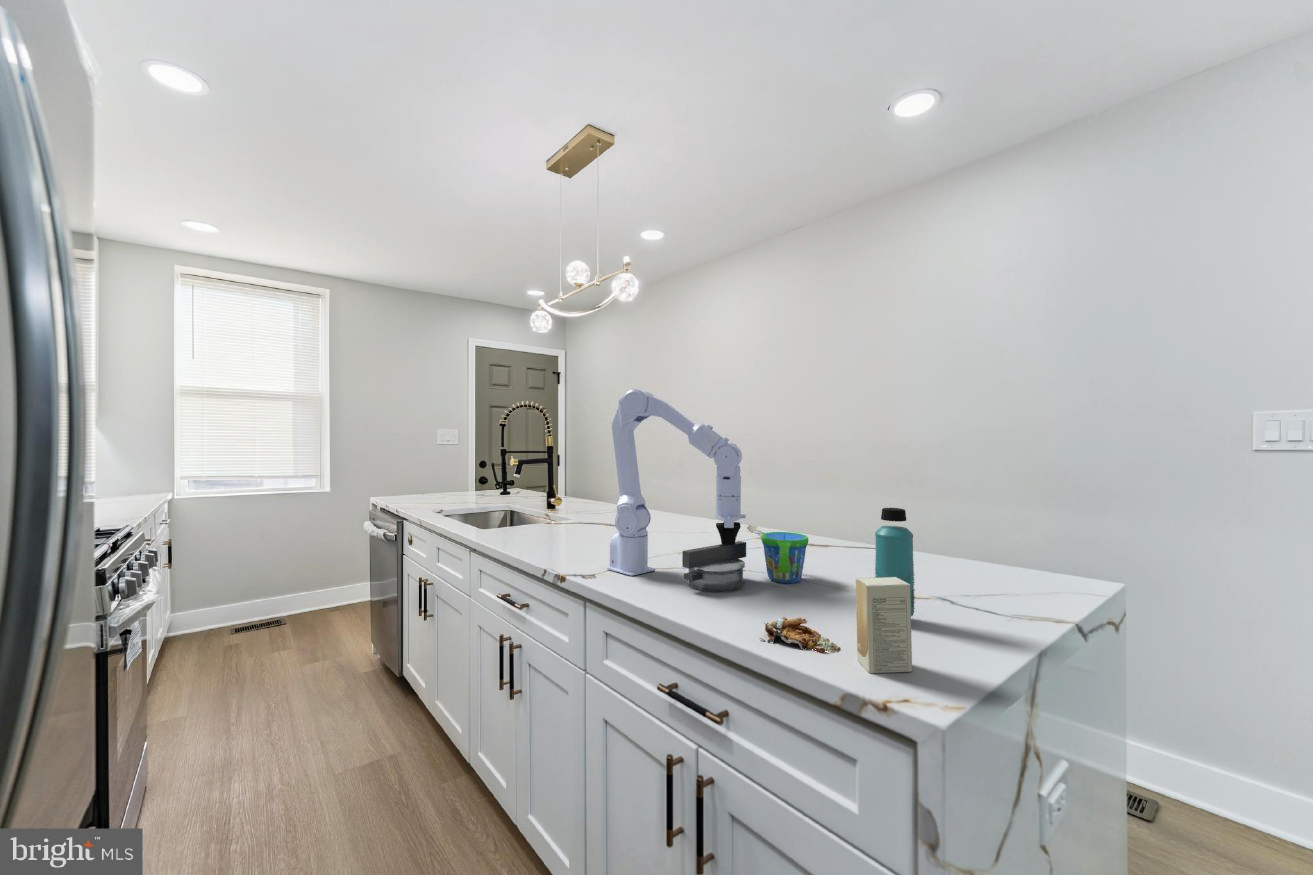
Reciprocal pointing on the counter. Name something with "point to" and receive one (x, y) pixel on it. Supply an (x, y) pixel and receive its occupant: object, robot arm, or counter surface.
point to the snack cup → (784, 555)
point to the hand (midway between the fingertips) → (728, 554)
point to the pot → (715, 580)
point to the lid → (716, 557)
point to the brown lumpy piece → (799, 635)
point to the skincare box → (883, 624)
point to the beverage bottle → (895, 550)
